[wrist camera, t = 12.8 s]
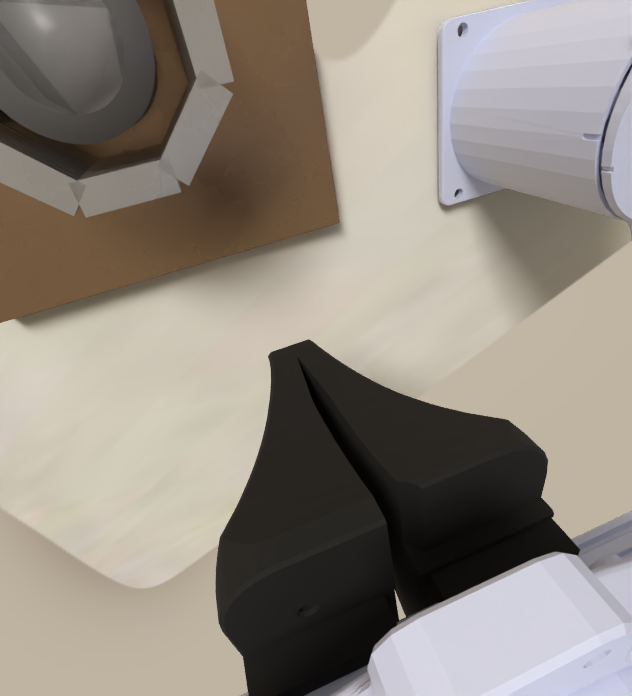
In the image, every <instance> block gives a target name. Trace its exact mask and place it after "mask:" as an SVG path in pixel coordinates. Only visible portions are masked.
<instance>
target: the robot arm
mask: <svg viewBox="0 0 632 696" xmlns="http://www.w3.org/2000/svg"><path fill="white" fill-rule="evenodd" d="M460 24H461V26H462V29H463V31H462V35H461V36H460V37H459V36H458V32H457V31H458V27H459V25H460ZM438 156H439V201H440V202H441V203H442V204H444V205H446V206H449V205H453V204H456V203H460V202H463V201H466V200H469V199H473V198H476V197H479V196H483V195H486V194H489V193H493V192H496V191H499V190H502V189H506V188H507V189H510V190H514V191H518V192H521V193H525V194H529V195H532V196H536V197H540V198H543V199H547V200H551V201H554V202H558V203H562V204H565V205H569V206H573V207H576V208H580V209H584V210H587V211H591V212H595V213H598V214H602V215H606V216H609V217H613V218H617V219H620V220H624V221H626V222H627V223H628V225H629V227H630V230H631V240H632V0H530V1H526V2H521V3H517V4H512V5H508V6H503V7H499V8H494V9H490V10H485V11H481V12H476V13H472V14H467V15H463V16H458V17H454V18H450V19H447V20H445V21H444V22H443V23H442V24H441V26H440V28H439V32H438ZM456 190H459V192H458V195H457V196H456V197H455V196H454V195H455V192H456ZM268 358H269V361H270V366H271V392H270V402H269V409H268V416H267V422H266V426H265V431H264V435H263V439H262V443H261V446H260V449H259V453H258V456H257V459H256V462H255V465H254V468H253V470H252V473H251V475H250V478H249V480H248V482H247V485H246V487H245V489H244V492H243V494H242V496H241V499H240V501H239V503H238V505H237V507H236V509H235V511H234V513H233V514H232V516H231V518H230V520H229V522H228V524H227V526H226V527H225V529H224V531H223V533H222V535H221V537H220V540H219V547H218V555H217V566H216V600H217V610H218V620H219V624H220V627H221V629H222V631H223V633H224V634H225V635H226V636H227V637H228V639H229V640H230V641H231V642H232V644H233V645H234V646H235V647H236V649H237V650H238V651H239V652H240V653H241V655H242V656H243V659H244V666H245V673H246V680H247V687H248V692H247V693H245V694H243V695H241V696H632V511H630V512H628V513H626V514H624V515H622V516H620V517H617V518H615V519H613V520H611V521H609V522H607V523H605V524H603V525H601V526H598V527H596V528H594V529H592V530H590V531H588V532H586V533H584V534H582V535H579V536H577V537H575V538H573V539H570V538H569V537H568V536H567V535H566V533H565V532H564V531H563V530H562V529H561V528H560V527H559V526H558V525H557V524H556V522H555V521H553V519H552V517H553V515H554V513H553V510H552V509H551V508H550V506H549V505H548V504H547V503H546V502H545V501H544V500H543V499H542V498H541V495H542V491H543V487H544V483H545V478H546V474H547V465H548V459H547V457H546V454H545V452H544V451H543V450H542V449H541V448H540V447H539V446H537V445H536V444H535V443H534V442H533V441H532V440H531V439H530V438H529V437H528V436H527V435H526V434H525V433H524V432H522V431H521V430H520V429H519V428H517V427H516V426H515V425H513V424H512V423H511V422H510V421H509V420H505V419H499V418H493V417H488V416H482V415H476V414H470V413H464V412H461V411H456V410H452V409H448V408H444V407H440V406H436V405H433V404H429V403H426V402H423V401H420V400H417V399H414V398H411V397H408V396H405V395H403V394H400V393H398V392H395V391H393V390H391V389H388V388H386V387H384V386H382V385H380V384H378V383H376V382H374V381H372V380H370V379H368V378H366V377H364V376H362V375H361V374H359V373H357V372H356V371H354V370H352V369H351V368H349V367H348V366H346V365H344V364H343V363H341V362H340V361H338V360H337V359H335V358H334V357H332V356H331V355H330V354H328V353H327V352H325V351H324V350H323V349H321V348H320V347H319V346H317V345H316V344H315V343H314V342H312V341H311V340H306V341H303V342H300V343H297V344H294V345H291V346H288V347H285V348H282V349H279V350H276V351H273V352H271V353H270V354H269V356H268ZM394 590H395V591H396V594H397V596H398V598H399V601H400V603H401V606H402V608H403V610H404V613H405V615H406V618H404V619H401V620H399V618H398V611H397V605H396V598H395V591H394Z"/></svg>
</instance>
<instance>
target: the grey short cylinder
mask: <svg viewBox="0 0 632 696" xmlns="http://www.w3.org/2000/svg"><path fill="white" fill-rule="evenodd" d="M157 83H158V71H157V62H156V58H155V54H154V49H153V45H152V41H151V37H150V33H149V30H148V27H147V24H146V22H145V19H144V17H143V14H142V12H141V10H140V8H139V5H138V4H137V2H136V0H0V109H1V110H2V111H3V112H4V113H5V114H7V115H8V116H9V117H10V118H12V119H13V120H15V121H16V122H18V123H19V124H21V125H22V126H24V127H26V128H28V129H30V130H31V131H33V132H35V133H37V134H40V135H42V136H45V137H47V138H50V139H53V140H57V141H60V142H66V143H72V144H94V143H100V142H104V141H108V140H110V139H112V138H115V137H117V136H119V135H120V134H122V133H124V132H125V131H127V130H128V129H130V128H131V127H132V126H134V125H135V124H136V123H138V122H139V121H140V120H141V119H142V118H143V117H144V116H145V115H146V114H147V112H148V111H149V109H150V107H151V105H152V103H153V101H154V98H155V94H156V91H157Z"/></svg>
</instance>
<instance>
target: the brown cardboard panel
mask: <svg viewBox="0 0 632 696" xmlns="http://www.w3.org/2000/svg"><path fill="white" fill-rule="evenodd" d="M136 2H137V4H138V5H139V8H140V10H141V12H142V14H143V17H144V19H145V22H146V24H147V27H148V30H149V33H150V37H151V41H152V45H153V49H154V54H155V58H156V62H157V71H158V83H157V91H156V94H155V98H154V101H153V103H152V105H151V107H150V109H149V111H148V112H147V114H146V115H145V116H144V117H143V118H142V119H141V120H140V121H139V122H138V123H136V124H135V125H134V126H132V127H131V128H130V129H128V130H127V131H125V132H124V133H122V134H120V135H119V136H117V137H115V138H112V139H110V140H108V141H104V142H100V143H94V144H72V143H66V142H60V141H57V140H53V139H50V138H47V137H45V136H42V135H40V134H37V133H35V132H33V131H31V130H30V129H28V128H26V127H24V126H22V125H21V124H19V123H18V122H16V121H15V120H13V119H12V118H10V117H9V116H8V115H7V114H5V113H4V112H3V111H2V110H1V109H0V323H1V322H5V321H8V320H11V319H15V318H18V317H22V316H25V315H28V314H32V313H35V312H38V311H42V310H45V309H49V308H52V307H55V306H59V305H62V304H65V303H69V302H72V301H76V300H79V299H82V298H86V297H89V296H92V295H96V294H99V293H103V292H106V291H109V290H113V289H116V288H119V287H123V286H126V285H130V284H133V283H136V282H140V281H143V280H146V279H150V278H153V277H157V276H160V275H163V274H167V273H170V272H173V271H177V270H180V269H184V268H187V267H190V266H194V265H197V264H200V263H204V262H207V261H211V260H214V259H217V258H221V257H224V256H227V255H231V254H234V253H238V252H241V251H244V250H248V249H251V248H254V247H258V246H261V245H265V244H268V243H271V242H275V241H278V240H281V239H285V238H288V237H292V236H295V235H298V234H302V233H305V232H309V231H312V230H315V229H319V228H322V227H325V226H329V225H332V224H336V223H339V216H338V209H337V203H336V196H335V189H334V183H333V176H332V170H331V163H330V156H329V150H328V143H327V136H326V130H325V123H324V116H323V110H322V103H321V96H320V90H319V83H318V77H317V70H316V63H315V57H314V50H313V43H312V37H311V31H310V23H309V17H308V10H307V4H306V0H136Z"/></svg>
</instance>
